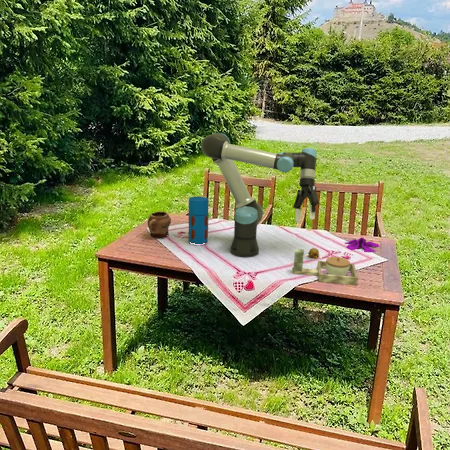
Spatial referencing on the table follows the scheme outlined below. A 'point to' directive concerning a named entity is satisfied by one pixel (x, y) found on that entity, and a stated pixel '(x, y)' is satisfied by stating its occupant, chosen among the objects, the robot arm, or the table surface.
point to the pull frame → (321, 277)
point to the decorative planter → (159, 224)
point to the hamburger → (313, 254)
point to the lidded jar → (337, 266)
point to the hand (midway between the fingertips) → (304, 220)
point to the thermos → (198, 220)
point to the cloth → (361, 245)
